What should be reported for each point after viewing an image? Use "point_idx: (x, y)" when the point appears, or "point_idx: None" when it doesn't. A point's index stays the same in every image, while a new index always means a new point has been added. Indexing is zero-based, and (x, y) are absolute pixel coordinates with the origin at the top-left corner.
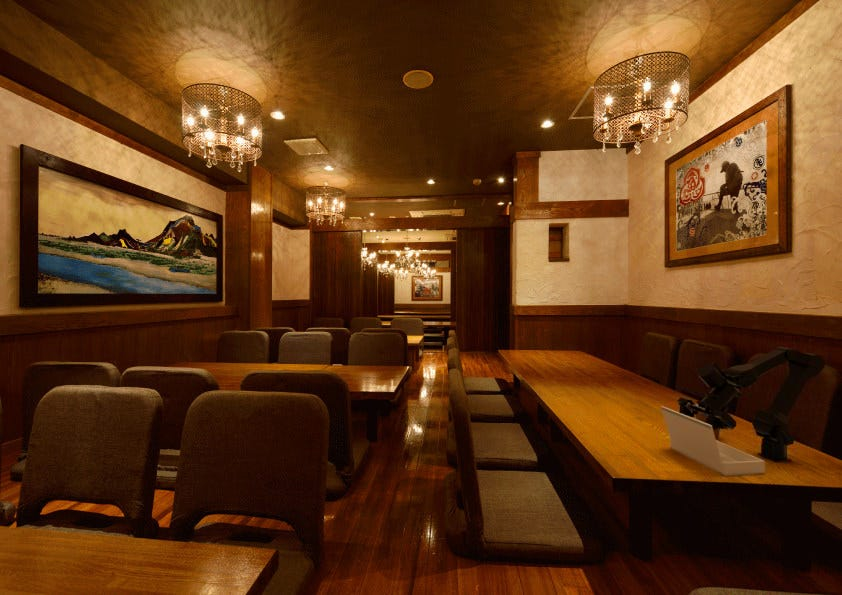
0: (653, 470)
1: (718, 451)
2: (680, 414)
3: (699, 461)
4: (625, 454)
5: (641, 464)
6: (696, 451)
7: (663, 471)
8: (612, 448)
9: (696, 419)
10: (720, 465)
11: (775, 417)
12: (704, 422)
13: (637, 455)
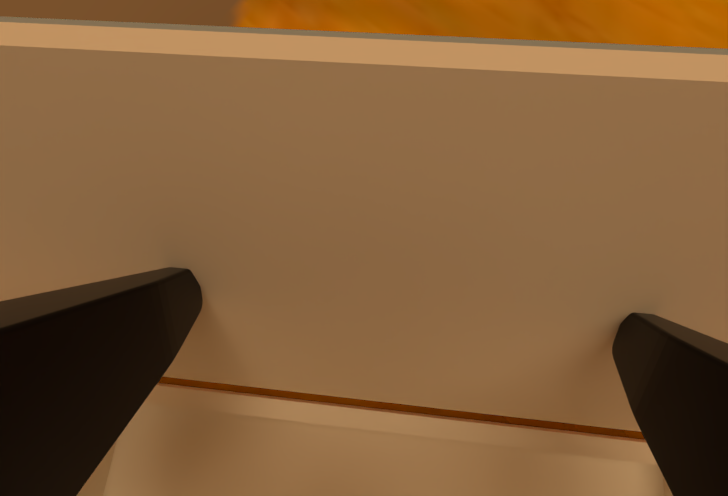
0: (330, 27)
1: None
2: (502, 44)
3: (340, 404)
4: (568, 22)
5: (414, 17)
6: (367, 409)
7: None
8: (676, 6)
9: (2, 47)
10: None
11: None
12: (9, 321)
13: None
